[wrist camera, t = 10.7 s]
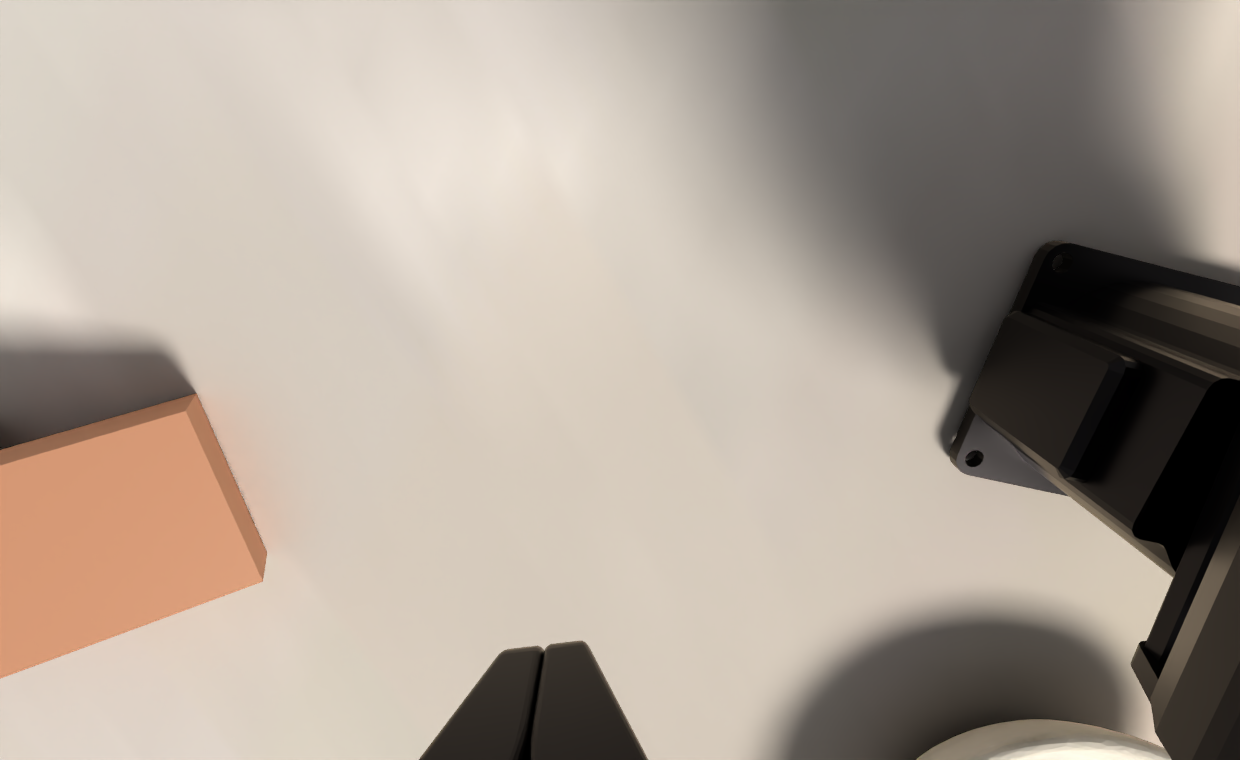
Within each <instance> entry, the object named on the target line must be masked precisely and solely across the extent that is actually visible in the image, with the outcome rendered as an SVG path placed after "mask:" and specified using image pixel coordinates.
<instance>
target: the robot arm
mask: <svg viewBox="0 0 1240 760" xmlns="http://www.w3.org/2000/svg"><path fill="white" fill-rule="evenodd" d="M1061 253H1062V256H1063V260H1062V263H1061V265H1060V266H1059V267H1058V268H1056V269H1054V270H1053V267H1052V264H1053V260H1054V259H1055V258H1056V256H1057V255H1059V254H1061ZM969 404H970V406H969V408H968V410H967V412H966V415H965V417H964V419H963V422H962V424H961V426H960V429H959V431H958V433H957V435H956V438H955V440H954V442H953V445H952V447H951V450H950V454H949V456H950V460H951V462H952V463H953V464H954V466H955V467H956V468H958V469H959V470H960V471H961V472H962V473H964V474H967V475H971V476H976V477H980V478H985V479H990V480H994V481H999V482H1004V483H1009V484H1013V485H1018V486H1023V487H1027V488H1032V489H1037V490H1042V491H1046V492H1051V493H1056V494H1061V495H1065V496H1069V497H1071V498H1072V499H1073V500H1075V501H1076V502H1077V503H1078V504H1080V505H1081V506H1082V507H1084V508H1085V509H1086V510H1087V511H1089V512H1090V513H1091V514H1092V515H1094V516H1095V517H1096V518H1098V519H1099V520H1100V521H1101V522H1103V523H1104V524H1105V525H1107V526H1108V527H1109V528H1110V529H1112V530H1113V531H1114V532H1116V533H1117V534H1118V535H1119V536H1121V537H1122V538H1123V539H1124V540H1126V541H1127V542H1128V543H1130V544H1131V545H1132V546H1133V547H1135V548H1136V549H1137V550H1139V551H1140V552H1141V553H1142V554H1144V555H1145V556H1146V557H1147V558H1149V559H1150V560H1151V561H1153V562H1154V563H1155V564H1156V565H1158V566H1159V567H1160V568H1162V569H1163V570H1164V571H1165V572H1167V573H1168V574H1169V575H1170V576H1172V577H1173V580H1172V582H1171V585H1170V587H1169V589H1168V592H1167V594H1166V596H1165V599H1164V601H1163V604H1162V606H1161V608H1160V611H1159V613H1158V615H1157V618H1156V620H1155V622H1154V625H1153V627H1152V629H1151V632H1150V634H1149V637H1148V639H1147V641H1141V642H1140V643H1139V645H1138V647H1137V649H1136V652H1135V654H1134V656H1133V659H1132V661H1131V667H1132V669H1133V670H1134V672H1135V674H1136V676H1137V678H1138V680H1139V682H1140V684H1141V686H1142V688H1143V690H1144V692H1145V694H1146V695H1147V697H1148V699H1149V701H1150V703H1151V706H1152V713H1153V720H1154V727H1155V733H1156V734H1157V736H1158V738H1159V739H1160V741H1161V743H1162V744H1163V746H1164V748H1165V749H1166V751H1167V753H1168V754H1169V756H1170V758H1171V759H1172V760H1240V287H1239V286H1235V285H1231V284H1227V283H1224V282H1220V281H1216V280H1212V279H1208V278H1204V277H1200V276H1196V275H1193V274H1189V273H1185V272H1181V271H1177V270H1173V269H1169V268H1165V267H1161V266H1158V265H1154V264H1150V263H1146V262H1142V261H1138V260H1134V259H1130V258H1126V257H1123V256H1119V255H1115V254H1111V253H1107V252H1103V251H1099V250H1095V249H1091V248H1088V247H1084V246H1080V245H1076V244H1072V243H1068V242H1064V241H1051V242H1048V243H1046V244H1045V245H1043V246H1042V247H1041V248H1040V249H1039V250H1038V252H1037V253H1036V255H1035V256H1034V259H1033V261H1032V263H1031V266H1030V268H1029V270H1028V273H1027V275H1026V277H1025V279H1024V282H1023V284H1022V286H1021V289H1020V291H1019V293H1018V295H1017V298H1016V300H1015V302H1014V305H1013V307H1012V309H1011V312H1010V314H1009V315H1008V316H1007V317H1005V319H1004V321H1003V323H1002V325H1001V328H1000V330H999V332H998V334H997V337H996V339H995V341H994V344H993V346H992V348H991V351H990V353H989V355H988V358H987V360H986V362H985V364H984V367H983V369H982V371H981V374H980V376H979V378H978V381H977V383H976V385H975V387H974V390H973V392H972V394H971V397H970V399H969ZM973 450H976V454H975V456H974V457H973V458H972V459H970V460H965V459H966V456H967V455H968V453H970V452H971V451H973ZM419 760H648V759H647V757H646V755H645V753H644V751H643V749H642V747H641V745H640V743H639V741H638V739H637V738H636V736H635V734H634V732H633V730H632V728H631V726H630V724H629V722H628V720H627V719H626V717H625V715H624V713H623V711H622V709H621V707H620V705H619V703H618V701H617V699H616V698H615V696H614V694H613V692H612V690H611V688H610V686H609V684H608V682H607V680H606V678H605V677H604V675H603V673H602V671H601V669H600V667H599V665H598V663H597V661H596V659H595V657H594V656H593V654H592V652H591V650H590V648H589V646H588V645H587V644H586V643H585V642H583V641H573V642H565V643H556V644H550V645H549V646H547V647H546V649H545V651H544V650H543V649H542V648H541V647H540V646H531V647H523V648H514V649H507V650H504V651H503V652H501V653H500V654H499V655H498V656H497V658H496V659H495V660H494V662H493V663H492V664H491V665H490V667H489V668H488V669H487V671H486V672H485V673H484V675H483V676H482V677H481V679H480V680H479V681H478V683H477V684H476V685H475V687H474V688H473V689H472V691H471V692H470V693H469V694H468V696H467V697H466V698H465V700H464V701H463V702H462V704H461V705H460V706H459V708H458V709H457V710H456V712H455V713H454V714H453V716H452V717H451V718H450V719H449V721H448V722H447V723H446V725H445V726H444V727H443V729H442V730H441V731H440V733H439V734H438V735H437V737H436V738H435V739H434V741H433V742H432V743H431V744H430V746H429V747H428V748H427V750H426V751H425V752H424V754H423V755H422V756H421V758H420V759H419Z"/></svg>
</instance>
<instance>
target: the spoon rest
mask: <svg viewBox="0 0 1240 760" xmlns="http://www.w3.org/2000/svg"><path fill="white" fill-rule="evenodd" d="M916 760H1172V759H1171V758H1170V756H1169V754H1168V753H1167V751H1166V749H1164V748H1162V747H1160V746H1158V745H1155V744H1153V743H1151V742H1148V741H1145V740H1142V739H1139V738H1137V737H1134V736H1131V735H1128V734H1124V733H1121V732H1117V731H1113V730H1109V729H1106V728H1102V727H1098V726H1093V725H1087V724H1081V723H1075V722H1068V721H1060V720H1050V719H1028V720H1016V721H1009V722H1003V723H997V724H992V725H988V726H984V727H980V728H976V729H973V730H970V731H967V732H965V733H962V734H959V735H957V736H954V737H952V738H950V739H948V740H946V741H944V742H942V743H940V744H938V745H936V746H934V747H933V748H931V749H930V750H928V751H927V752H925V753H924V754H922V755H921V756H920V757H918V758H917V759H916Z"/></svg>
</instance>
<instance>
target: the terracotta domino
mask: <svg viewBox="0 0 1240 760" xmlns="http://www.w3.org/2000/svg"><path fill="white" fill-rule="evenodd" d="M266 557H267V552H266V550H265V547H264V545H263V543H262V541H261V538H260V536H259V534H258V532H257V529H256V527H255V525H254V523H253V520H252V518H251V516H250V514H249V511H248V509H247V507H246V504H245V502H244V500H243V498H242V495H241V493H240V491H239V489H238V486H237V484H236V482H235V480H234V477H233V475H232V473H231V471H230V468H229V466H228V464H227V462H226V459H225V457H224V455H223V452H222V450H221V448H220V446H219V443H218V441H217V439H216V437H215V434H214V432H213V430H212V428H211V425H210V423H209V421H208V419H207V416H206V414H205V412H204V410H203V407H202V405H201V403H200V401H199V398H198V396H197V394H192V395H189V396H185V397H182V398H179V399H175V400H172V401H168V402H165V403H161V404H158V405H154V406H151V407H147V408H144V409H140V410H137V411H134V412H130V413H127V414H123V415H120V416H116V417H113V418H109V419H106V420H102V421H99V422H95V423H92V424H88V425H85V426H82V427H78V428H75V429H71V430H68V431H64V432H61V433H57V434H54V435H50V436H47V437H43V438H40V439H37V440H33V441H30V442H26V443H23V444H19V445H16V446H12V447H9V448H5V449H2V450H0V678H3V677H6V676H8V675H11V674H14V673H16V672H19V671H22V670H25V669H27V668H30V667H33V666H35V665H38V664H41V663H44V662H46V661H49V660H52V659H54V658H57V657H60V656H62V655H65V654H68V653H71V652H73V651H76V650H79V649H81V648H84V647H87V646H89V645H92V644H95V643H98V642H100V641H103V640H106V639H108V638H111V637H114V636H117V635H119V634H122V633H125V632H127V631H130V630H133V629H135V628H138V627H141V626H144V625H146V624H149V623H152V622H154V621H157V620H160V619H162V618H165V617H168V616H171V615H173V614H176V613H179V612H181V611H184V610H187V609H190V608H192V607H195V606H198V605H200V604H203V603H206V602H208V601H211V600H214V599H217V598H219V597H222V596H225V595H227V594H230V593H233V592H235V591H238V590H241V589H244V588H246V587H249V586H252V585H254V584H257V583H260V582H263V577H264V570H265V564H266Z"/></svg>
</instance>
